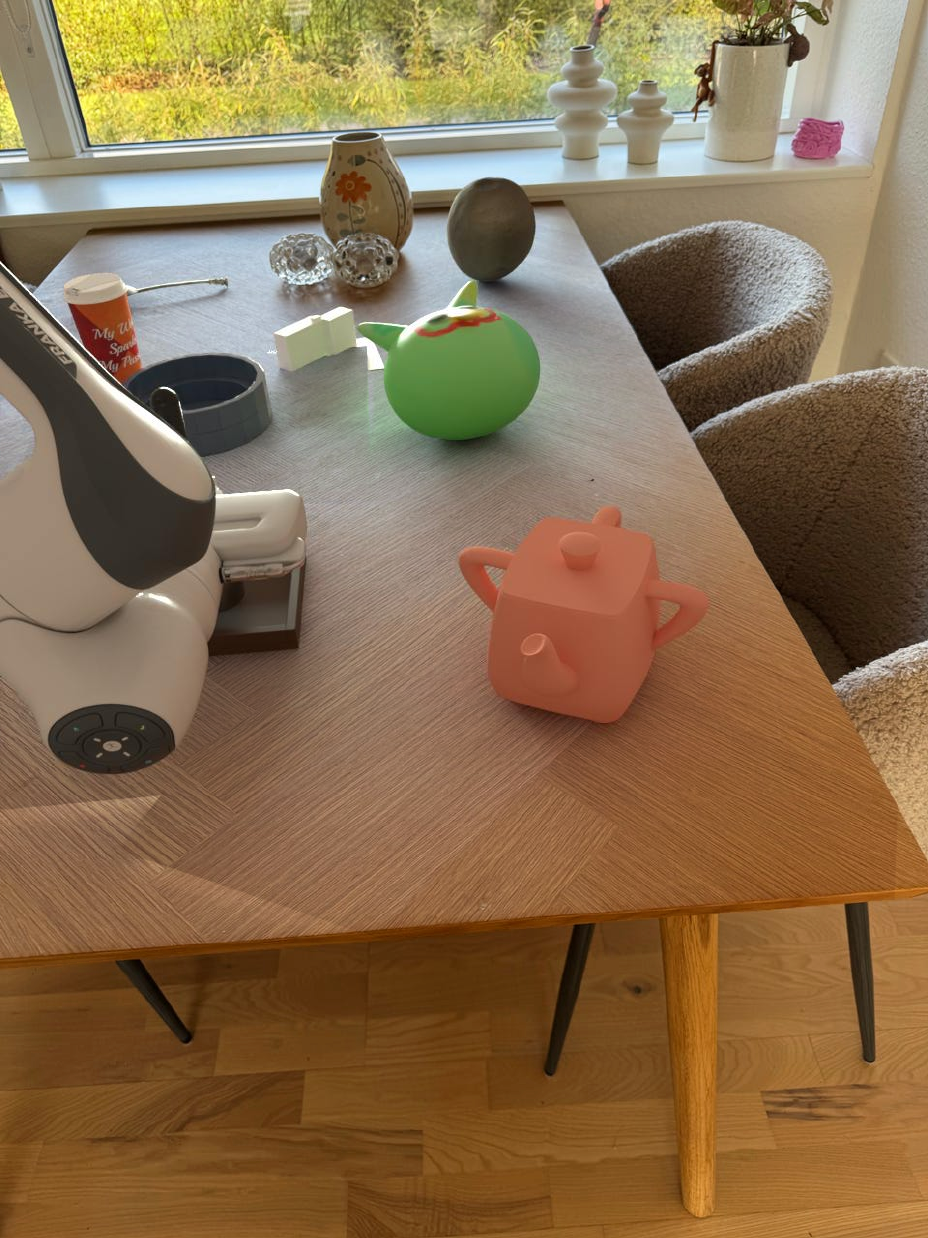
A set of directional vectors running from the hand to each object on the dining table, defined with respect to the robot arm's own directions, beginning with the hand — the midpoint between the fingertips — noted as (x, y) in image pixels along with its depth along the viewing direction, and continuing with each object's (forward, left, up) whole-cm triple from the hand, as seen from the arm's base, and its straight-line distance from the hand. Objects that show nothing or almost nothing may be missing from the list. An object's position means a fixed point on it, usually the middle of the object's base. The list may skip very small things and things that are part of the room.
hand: (187, 485), depth 77 cm
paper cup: (-18, +48, -12) cm, 53 cm away
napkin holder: (+8, +53, -12) cm, 55 cm away
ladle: (0, -2, -10) cm, 10 cm away
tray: (0, -1, -12) cm, 12 cm away
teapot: (+30, -15, -12) cm, 36 cm away
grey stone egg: (+34, +79, -12) cm, 87 cm away
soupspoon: (-19, +82, -12) cm, 85 cm away
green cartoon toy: (+25, +30, -12) cm, 41 cm away
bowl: (-6, +35, -12) cm, 38 cm away
